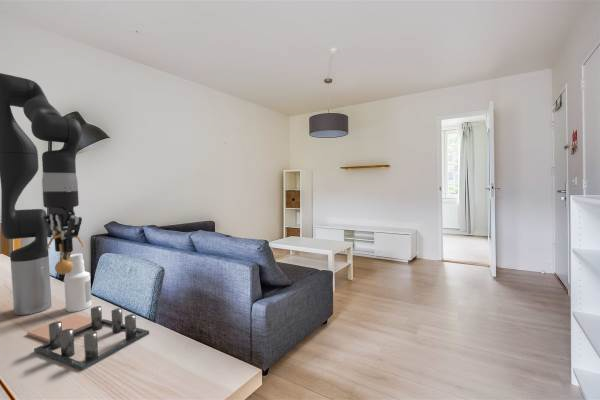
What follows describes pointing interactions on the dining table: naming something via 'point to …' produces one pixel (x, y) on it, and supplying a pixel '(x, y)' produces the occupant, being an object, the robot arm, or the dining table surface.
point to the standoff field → (89, 338)
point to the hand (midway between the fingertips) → (64, 251)
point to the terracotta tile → (67, 323)
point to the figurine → (62, 265)
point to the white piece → (77, 286)
